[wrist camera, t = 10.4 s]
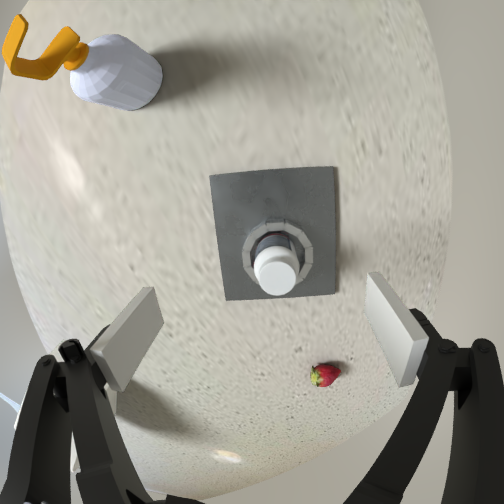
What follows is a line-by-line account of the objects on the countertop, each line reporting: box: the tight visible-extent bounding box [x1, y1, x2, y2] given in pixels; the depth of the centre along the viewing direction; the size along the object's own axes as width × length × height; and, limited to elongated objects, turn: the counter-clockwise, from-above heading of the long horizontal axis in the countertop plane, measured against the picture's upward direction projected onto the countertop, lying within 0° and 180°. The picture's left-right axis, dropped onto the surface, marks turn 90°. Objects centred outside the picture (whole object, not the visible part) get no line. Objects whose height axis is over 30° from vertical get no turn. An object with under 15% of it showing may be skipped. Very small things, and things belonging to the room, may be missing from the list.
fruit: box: [310, 364, 341, 387], centre depth 41 cm, size 4×6×5 cm
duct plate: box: [209, 166, 336, 301], centre depth 35 cm, size 18×16×3 cm
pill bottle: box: [254, 233, 299, 296], centre depth 32 cm, size 5×5×9 cm
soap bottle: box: [2, 14, 163, 111], centre depth 19 cm, size 9×9×25 cm
